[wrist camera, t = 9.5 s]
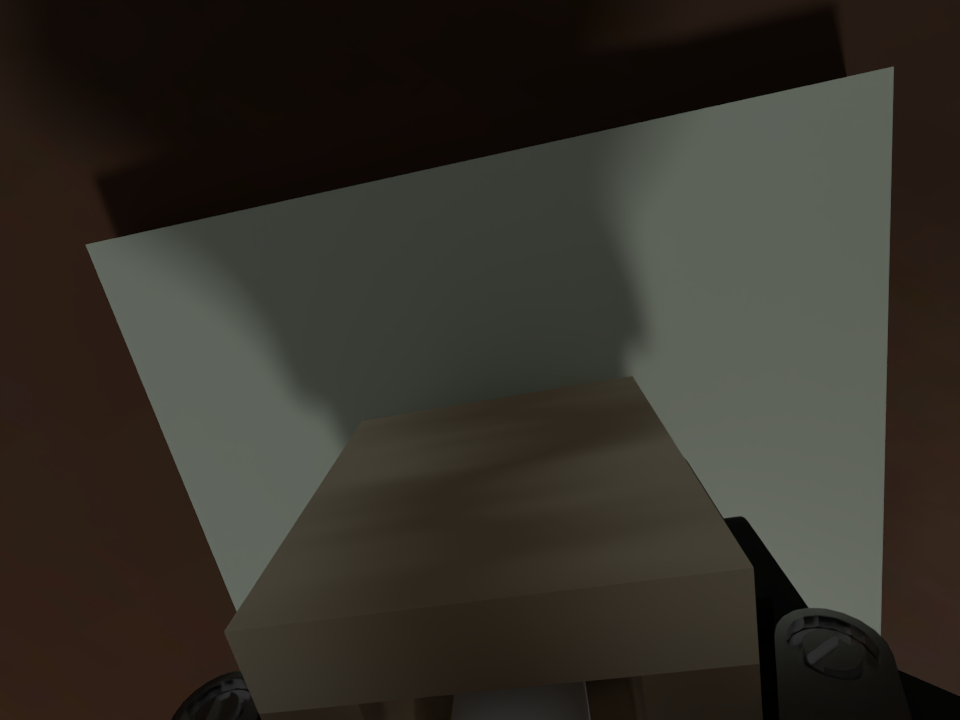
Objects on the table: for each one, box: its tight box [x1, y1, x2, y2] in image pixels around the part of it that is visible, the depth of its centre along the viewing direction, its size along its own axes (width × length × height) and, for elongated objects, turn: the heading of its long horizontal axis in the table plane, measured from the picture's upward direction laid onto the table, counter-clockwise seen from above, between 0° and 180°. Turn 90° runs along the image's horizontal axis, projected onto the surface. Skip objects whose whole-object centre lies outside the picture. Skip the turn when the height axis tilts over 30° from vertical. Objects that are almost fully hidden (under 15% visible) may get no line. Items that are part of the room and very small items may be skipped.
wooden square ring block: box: [224, 376, 763, 720], centre depth 10 cm, size 6×6×6 cm
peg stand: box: [86, 67, 894, 720], centre depth 10 cm, size 18×16×12 cm
